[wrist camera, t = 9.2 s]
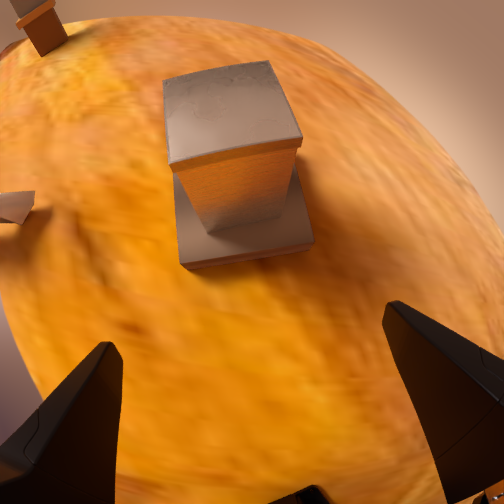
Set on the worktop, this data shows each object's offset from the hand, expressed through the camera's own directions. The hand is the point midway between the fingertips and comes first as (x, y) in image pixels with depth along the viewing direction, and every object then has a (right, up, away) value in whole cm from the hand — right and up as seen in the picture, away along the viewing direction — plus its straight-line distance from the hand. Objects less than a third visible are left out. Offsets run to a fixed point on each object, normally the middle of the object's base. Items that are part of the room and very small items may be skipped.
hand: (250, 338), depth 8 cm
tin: (-1, +7, +13) cm, 15 cm away
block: (-1, +7, +16) cm, 18 cm away
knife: (-42, +46, +27) cm, 68 cm away
